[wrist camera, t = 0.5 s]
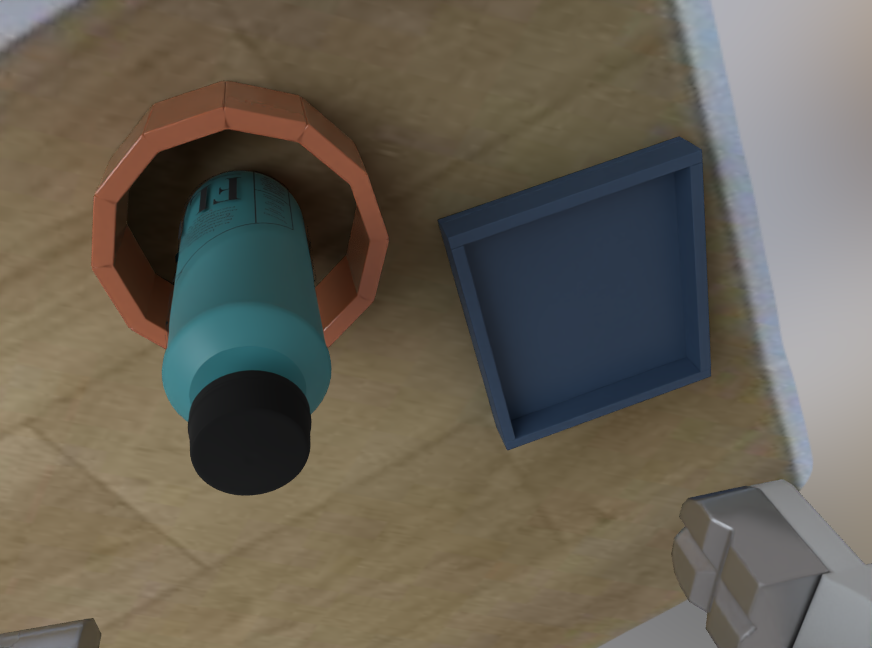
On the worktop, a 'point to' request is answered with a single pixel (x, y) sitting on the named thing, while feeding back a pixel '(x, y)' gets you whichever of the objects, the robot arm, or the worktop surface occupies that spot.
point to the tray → (586, 290)
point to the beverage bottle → (245, 334)
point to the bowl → (204, 115)
